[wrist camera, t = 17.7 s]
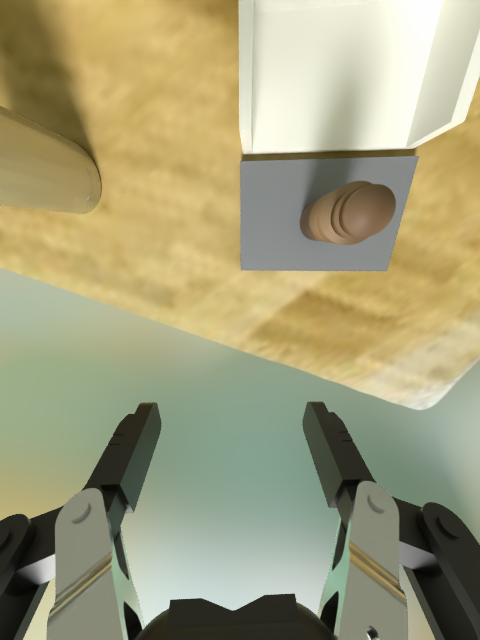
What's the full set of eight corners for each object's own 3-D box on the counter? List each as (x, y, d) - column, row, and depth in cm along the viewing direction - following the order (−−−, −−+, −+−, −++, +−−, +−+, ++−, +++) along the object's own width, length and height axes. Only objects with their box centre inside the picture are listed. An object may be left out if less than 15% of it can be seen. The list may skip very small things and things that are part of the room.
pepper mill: (293, 232, 29) (323, 233, 17) (310, 193, 27) (359, 158, 14) (326, 246, 30) (379, 256, 17) (345, 207, 28) (423, 186, 15)
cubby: (243, 154, 27) (239, 130, 21) (243, 2, 22) (238, -93, 15) (412, 149, 26) (464, 121, 19) (455, -16, 20) (547, -129, 14)
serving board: (241, 269, 33) (240, 270, 32) (241, 164, 28) (240, 161, 26) (382, 269, 32) (386, 271, 31) (411, 159, 26) (418, 155, 25)
